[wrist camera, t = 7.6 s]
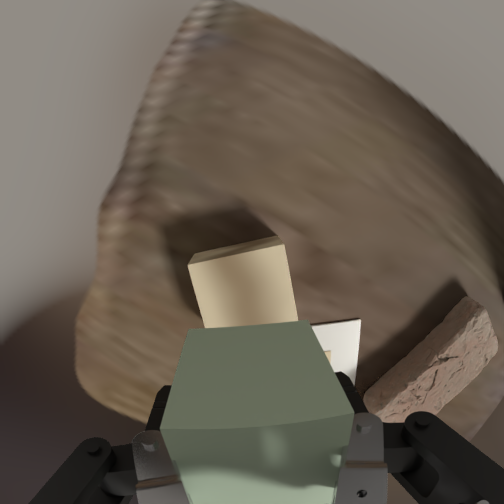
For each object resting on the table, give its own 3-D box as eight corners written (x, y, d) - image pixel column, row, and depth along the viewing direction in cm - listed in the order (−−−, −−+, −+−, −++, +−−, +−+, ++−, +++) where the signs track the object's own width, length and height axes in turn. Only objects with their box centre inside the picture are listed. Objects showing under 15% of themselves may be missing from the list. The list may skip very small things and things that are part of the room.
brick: (464, 290, 28) (490, 305, 23) (483, 333, 30) (505, 349, 25) (355, 392, 30) (369, 418, 25) (387, 422, 32) (401, 446, 27)
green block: (307, 319, 13) (354, 412, 7) (305, 407, 14) (334, 502, 8) (188, 329, 13) (159, 428, 7) (205, 416, 14) (195, 514, 8)
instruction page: (360, 319, 28) (361, 320, 27) (352, 392, 29) (353, 394, 29) (265, 330, 27) (265, 332, 27) (269, 405, 29) (270, 407, 29)
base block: (277, 234, 26) (284, 244, 22) (291, 311, 27) (299, 331, 23) (194, 252, 26) (187, 264, 22) (215, 327, 27) (211, 349, 23)
